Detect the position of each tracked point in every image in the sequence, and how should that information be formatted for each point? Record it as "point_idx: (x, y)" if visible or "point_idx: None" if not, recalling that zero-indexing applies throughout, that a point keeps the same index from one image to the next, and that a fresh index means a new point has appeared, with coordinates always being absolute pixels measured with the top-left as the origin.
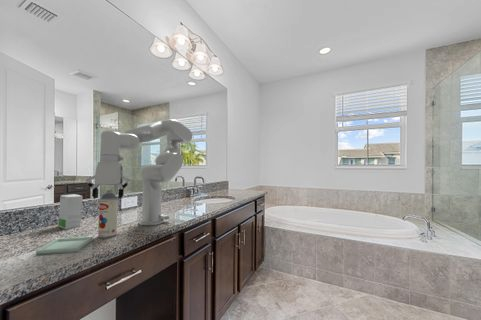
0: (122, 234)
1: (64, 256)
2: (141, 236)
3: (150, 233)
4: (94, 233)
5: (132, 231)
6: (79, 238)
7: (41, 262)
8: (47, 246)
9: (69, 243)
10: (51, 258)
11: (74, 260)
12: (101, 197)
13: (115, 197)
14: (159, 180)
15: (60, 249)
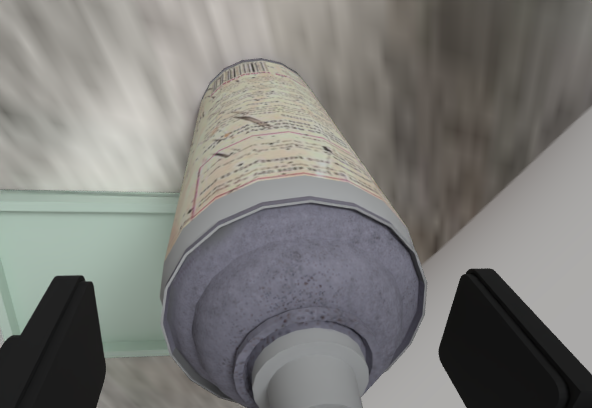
0: (354, 109)
1: (165, 369)
2: (470, 181)
3: (528, 132)
4: (129, 22)
5: (418, 46)
6: (114, 210)
7: (109, 404)
8: (6, 299)
9: (92, 253)
10: (122, 379)
11: (226, 402)
12: (201, 375)
13: (402, 349)
14: None
15: (120, 356)
